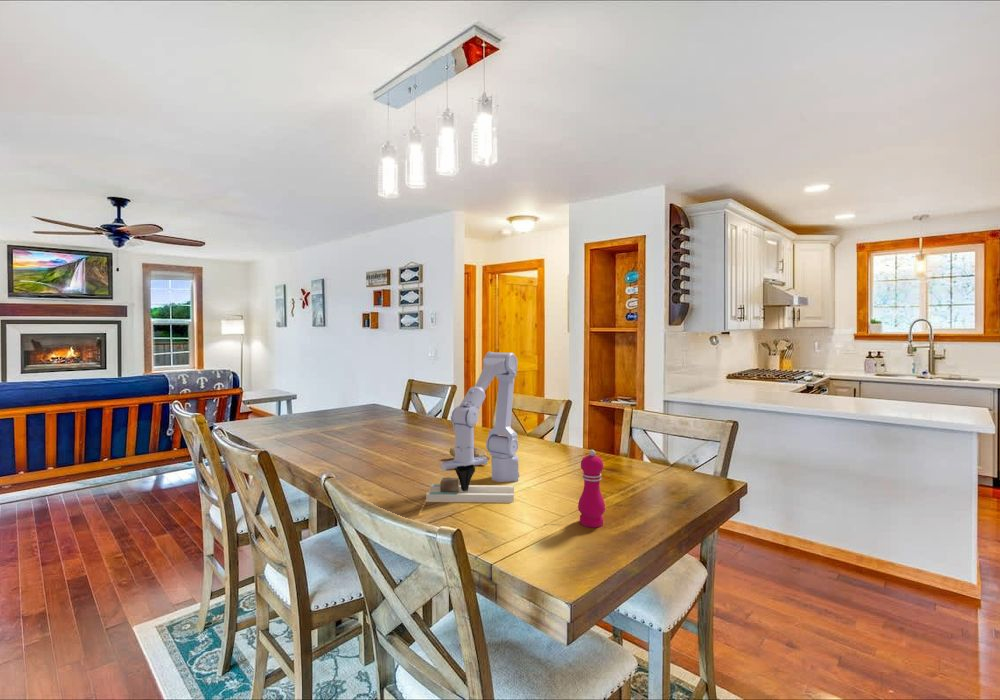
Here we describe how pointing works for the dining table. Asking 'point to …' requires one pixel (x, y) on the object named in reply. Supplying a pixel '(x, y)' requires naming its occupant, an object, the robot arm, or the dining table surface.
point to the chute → (473, 494)
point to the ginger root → (477, 452)
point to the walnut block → (449, 485)
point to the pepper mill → (591, 492)
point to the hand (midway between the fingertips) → (464, 490)
